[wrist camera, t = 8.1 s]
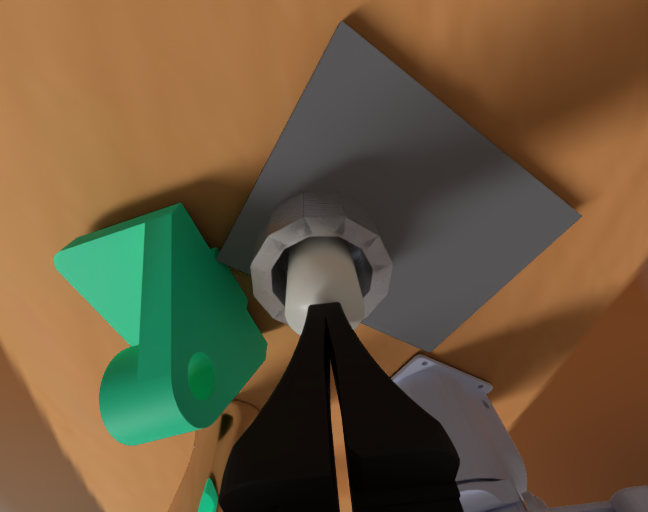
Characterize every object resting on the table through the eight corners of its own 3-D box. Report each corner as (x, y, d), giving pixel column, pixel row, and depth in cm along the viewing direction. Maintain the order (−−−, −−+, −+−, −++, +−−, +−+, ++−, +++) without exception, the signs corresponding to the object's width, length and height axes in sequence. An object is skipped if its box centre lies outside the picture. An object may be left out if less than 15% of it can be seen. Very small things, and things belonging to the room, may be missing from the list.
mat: (570, 209, 20) (582, 216, 19) (425, 343, 26) (429, 352, 25) (339, 23, 14) (341, 20, 13) (219, 251, 20) (216, 260, 19)
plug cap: (359, 236, 19) (380, 300, 14) (327, 277, 20) (336, 349, 15) (308, 208, 18) (310, 267, 13) (279, 254, 19) (270, 324, 14)
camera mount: (74, 233, 19) (-120, 380, 10) (187, 195, 18) (82, 319, 9) (181, 357, 25) (117, 513, 16) (268, 332, 24) (250, 483, 16)
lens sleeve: (400, 227, 19) (419, 258, 16) (335, 307, 22) (341, 345, 19) (296, 166, 16) (295, 189, 13) (239, 264, 19) (229, 301, 16)
